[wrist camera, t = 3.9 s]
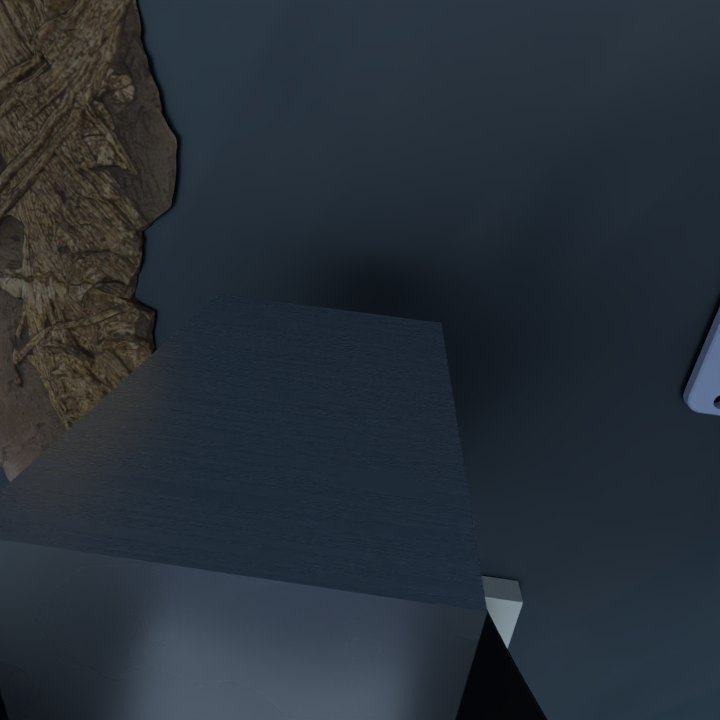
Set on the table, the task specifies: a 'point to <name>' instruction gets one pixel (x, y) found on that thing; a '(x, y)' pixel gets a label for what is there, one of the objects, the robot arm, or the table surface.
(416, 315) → the table surface
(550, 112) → the table surface
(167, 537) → the steel block
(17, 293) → the wooden fragment
